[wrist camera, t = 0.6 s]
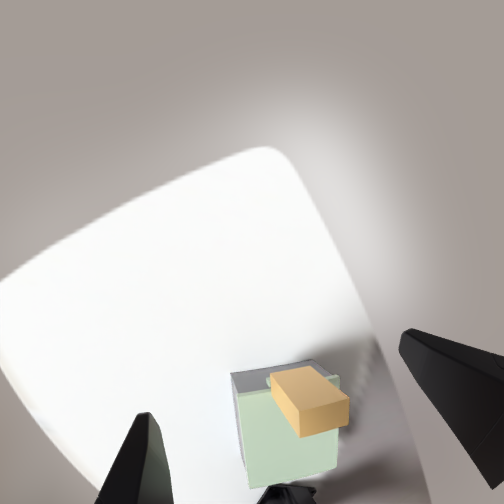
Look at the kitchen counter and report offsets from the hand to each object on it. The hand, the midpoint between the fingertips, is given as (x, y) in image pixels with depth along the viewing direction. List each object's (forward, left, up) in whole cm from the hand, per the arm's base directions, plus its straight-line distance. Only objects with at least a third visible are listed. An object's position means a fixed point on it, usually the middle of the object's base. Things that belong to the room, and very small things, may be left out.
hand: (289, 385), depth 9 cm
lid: (-8, -8, -14) cm, 18 cm away
